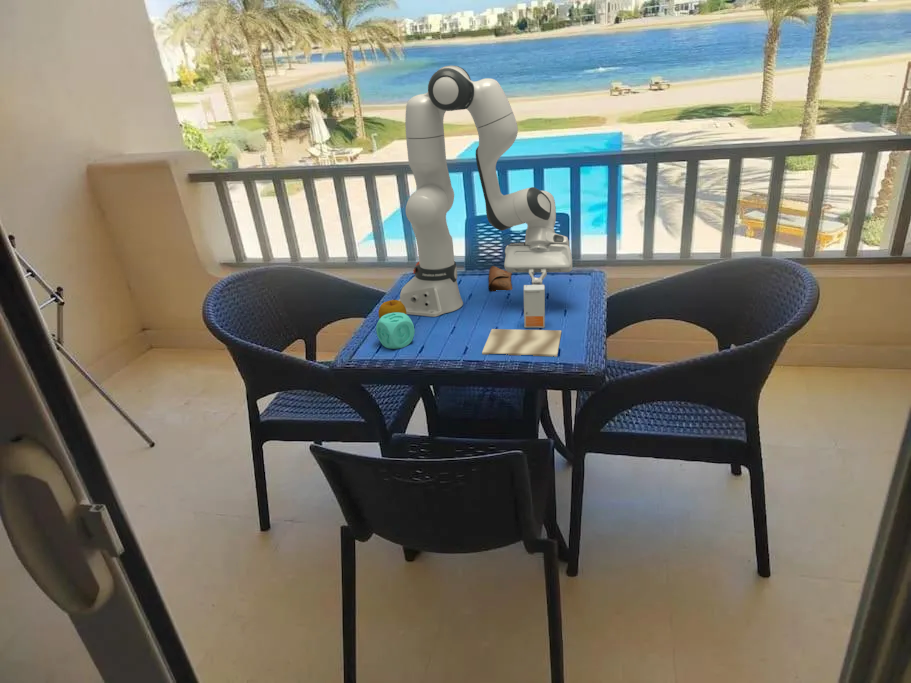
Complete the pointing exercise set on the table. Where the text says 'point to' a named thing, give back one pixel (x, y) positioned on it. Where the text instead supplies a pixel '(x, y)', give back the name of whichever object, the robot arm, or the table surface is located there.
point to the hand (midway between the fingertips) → (536, 284)
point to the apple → (391, 308)
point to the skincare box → (534, 306)
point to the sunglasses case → (499, 279)
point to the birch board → (523, 342)
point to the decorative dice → (395, 330)
